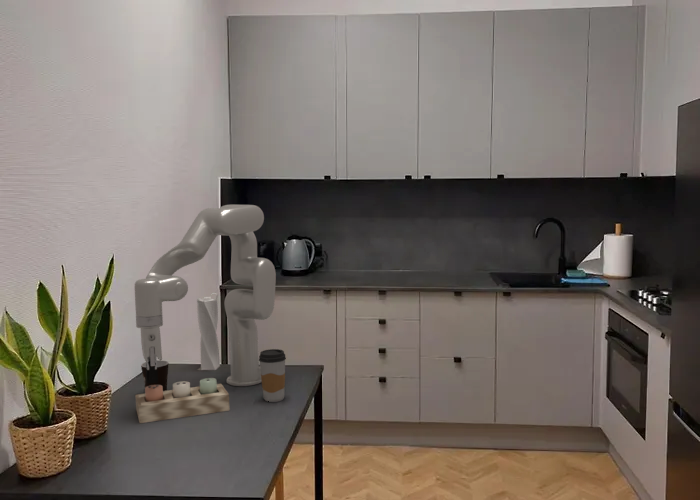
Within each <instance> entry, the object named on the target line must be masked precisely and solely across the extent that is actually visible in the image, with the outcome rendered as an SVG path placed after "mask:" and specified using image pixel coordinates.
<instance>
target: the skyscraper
mask: <svg viewBox="0 0 700 500" xmlns="http://www.w3.org/2000/svg"><path fill="white" fill-rule="evenodd" d="M212 295H216V297H215V299H214V298H212ZM218 296H219V294H218V293H216V292H212V293H211V294H210V296H204V297H203V298H200V297H199V298H197V299H196V309H197V311H196V312H197V321H198V329H199V332H200V366H199V368H198V369H196V371H217V370H218V369H219V368H220V367H221V366H222V364H221V363H220V360H221V359H220V349H219V347H220V346H219V341H218V335H217V329H218V323H219V322H218V320H219V311H218V310H219V307H218Z"/></svg>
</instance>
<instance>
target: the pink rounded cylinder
mask: <svg viewBox="0 0 700 500" xmlns="http://www.w3.org/2000/svg"><path fill="white" fill-rule="evenodd" d="M144 394H145V395H146V402H150V401H158V400H163V386H162V385H150V386H147V387H145V386H144Z"/></svg>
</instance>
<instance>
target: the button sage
mask: <svg viewBox="0 0 700 500" xmlns="http://www.w3.org/2000/svg"><path fill="white" fill-rule="evenodd" d="M217 384H218V382H217V378H214V377H207V378H201V379H200V380H199V386H200V394H201V395H203V394H211V393H217Z"/></svg>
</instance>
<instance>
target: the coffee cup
mask: <svg viewBox="0 0 700 500" xmlns="http://www.w3.org/2000/svg"><path fill="white" fill-rule="evenodd" d="M258 356H259V366H260V368H261V380H262V382H261V388H262V393H263V399H264V400H265V402H268V401H269V403H277V402H281V401H283V400H284V398H285V387H286V383H285V382H286V360H287V359H286V358H287V357H286V354H285V351H284V350H282V349H278V348H277V349H276V348H270V349H263V350H262V351H260V353H259V355H258Z"/></svg>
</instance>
